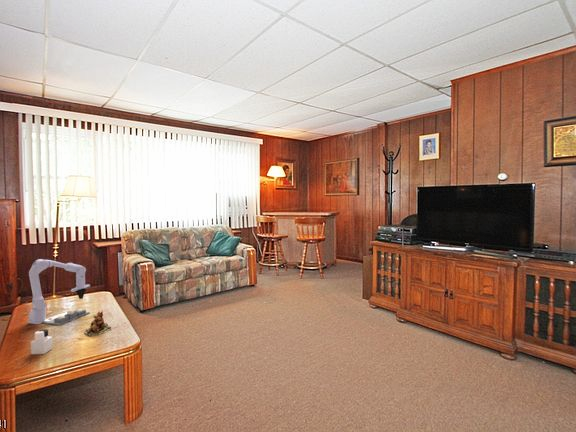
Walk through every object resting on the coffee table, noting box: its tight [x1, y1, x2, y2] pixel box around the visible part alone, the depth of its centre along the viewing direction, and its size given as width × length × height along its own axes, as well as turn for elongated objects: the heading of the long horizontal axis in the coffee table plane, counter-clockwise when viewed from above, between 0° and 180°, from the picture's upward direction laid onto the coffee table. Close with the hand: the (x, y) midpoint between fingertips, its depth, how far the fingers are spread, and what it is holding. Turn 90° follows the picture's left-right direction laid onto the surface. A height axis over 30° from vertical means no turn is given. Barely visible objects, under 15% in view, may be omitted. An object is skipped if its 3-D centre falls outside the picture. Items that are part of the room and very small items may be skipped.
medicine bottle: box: [30, 328, 53, 355], centre depth 176 cm, size 7×7×12 cm
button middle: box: [66, 309, 74, 315], centre depth 225 cm, size 4×4×3 cm
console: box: [41, 309, 90, 326], centre depth 227 cm, size 18×24×3 cm
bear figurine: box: [83, 311, 113, 337], centre depth 204 cm, size 14×15×12 cm
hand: (81, 298), depth 239 cm, fingers closed
